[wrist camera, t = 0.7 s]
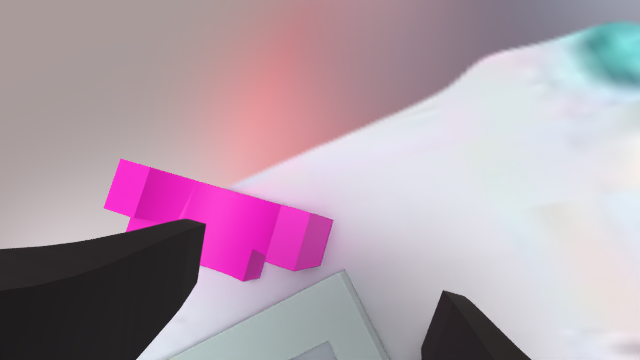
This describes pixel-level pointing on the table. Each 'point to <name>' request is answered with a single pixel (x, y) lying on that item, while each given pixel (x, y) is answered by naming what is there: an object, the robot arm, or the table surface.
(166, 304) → the robot arm
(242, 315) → the table surface
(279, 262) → the toy block
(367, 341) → the board
